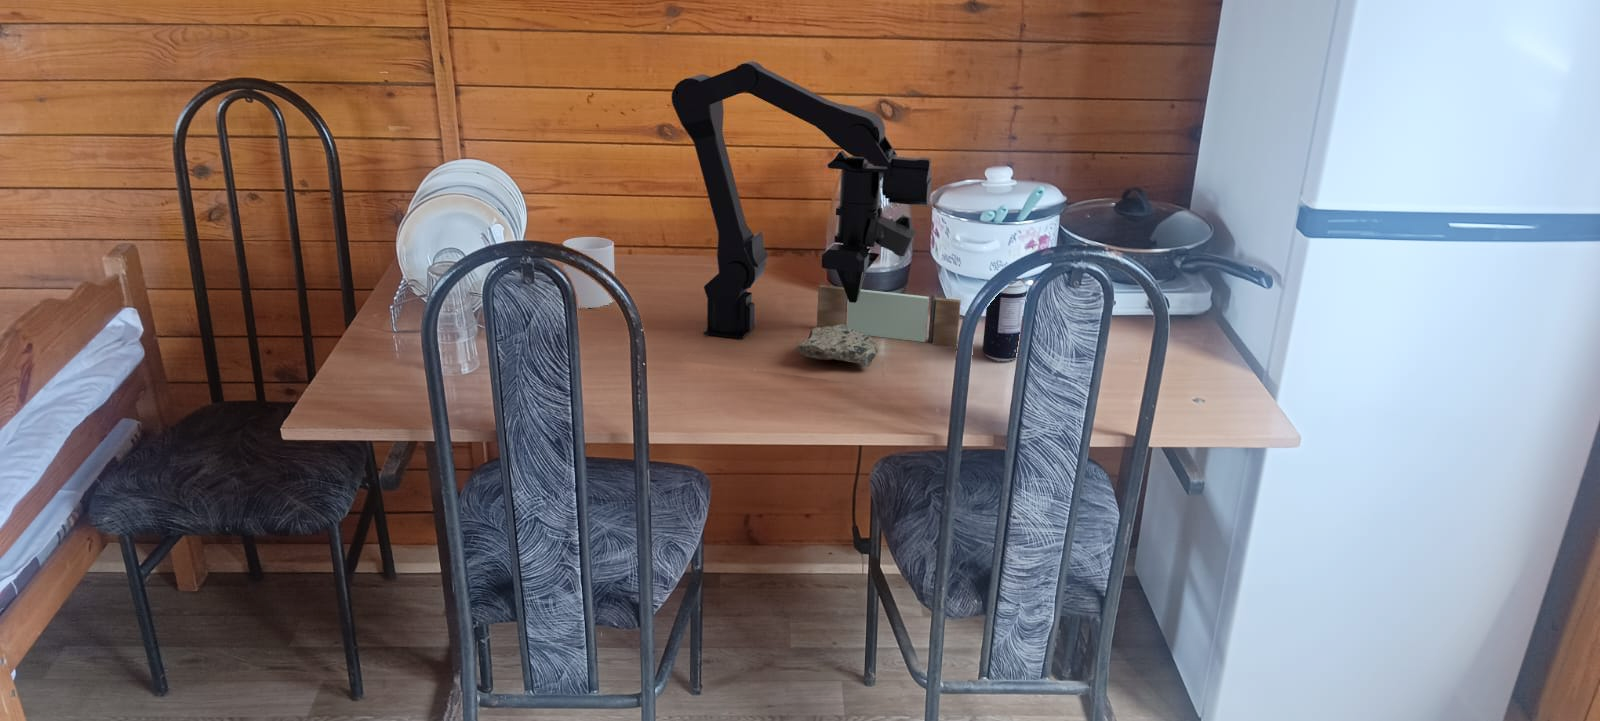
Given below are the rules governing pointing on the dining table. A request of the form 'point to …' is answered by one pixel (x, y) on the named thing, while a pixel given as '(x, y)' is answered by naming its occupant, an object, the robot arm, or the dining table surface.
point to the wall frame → (941, 314)
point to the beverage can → (1004, 323)
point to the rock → (839, 345)
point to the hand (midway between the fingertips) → (853, 301)
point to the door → (889, 315)
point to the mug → (584, 285)
